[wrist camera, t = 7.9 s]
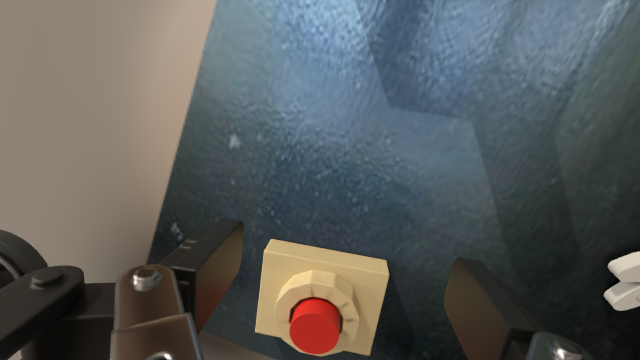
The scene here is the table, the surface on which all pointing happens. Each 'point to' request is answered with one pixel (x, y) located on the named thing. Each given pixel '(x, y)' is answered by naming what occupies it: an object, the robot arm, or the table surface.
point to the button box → (321, 291)
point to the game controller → (625, 282)
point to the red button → (315, 326)
